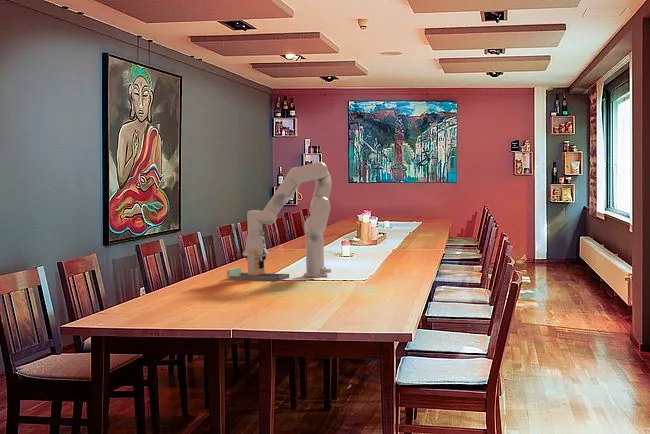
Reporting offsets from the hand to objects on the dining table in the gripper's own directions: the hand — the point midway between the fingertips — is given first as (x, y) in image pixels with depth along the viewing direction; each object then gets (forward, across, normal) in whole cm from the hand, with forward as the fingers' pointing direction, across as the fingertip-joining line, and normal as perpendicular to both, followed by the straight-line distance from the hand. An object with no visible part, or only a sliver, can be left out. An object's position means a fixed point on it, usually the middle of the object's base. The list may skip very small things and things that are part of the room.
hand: (256, 268), depth 408 cm
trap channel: (+6, -2, 0) cm, 6 cm away
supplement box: (+4, 0, 0) cm, 4 cm away
